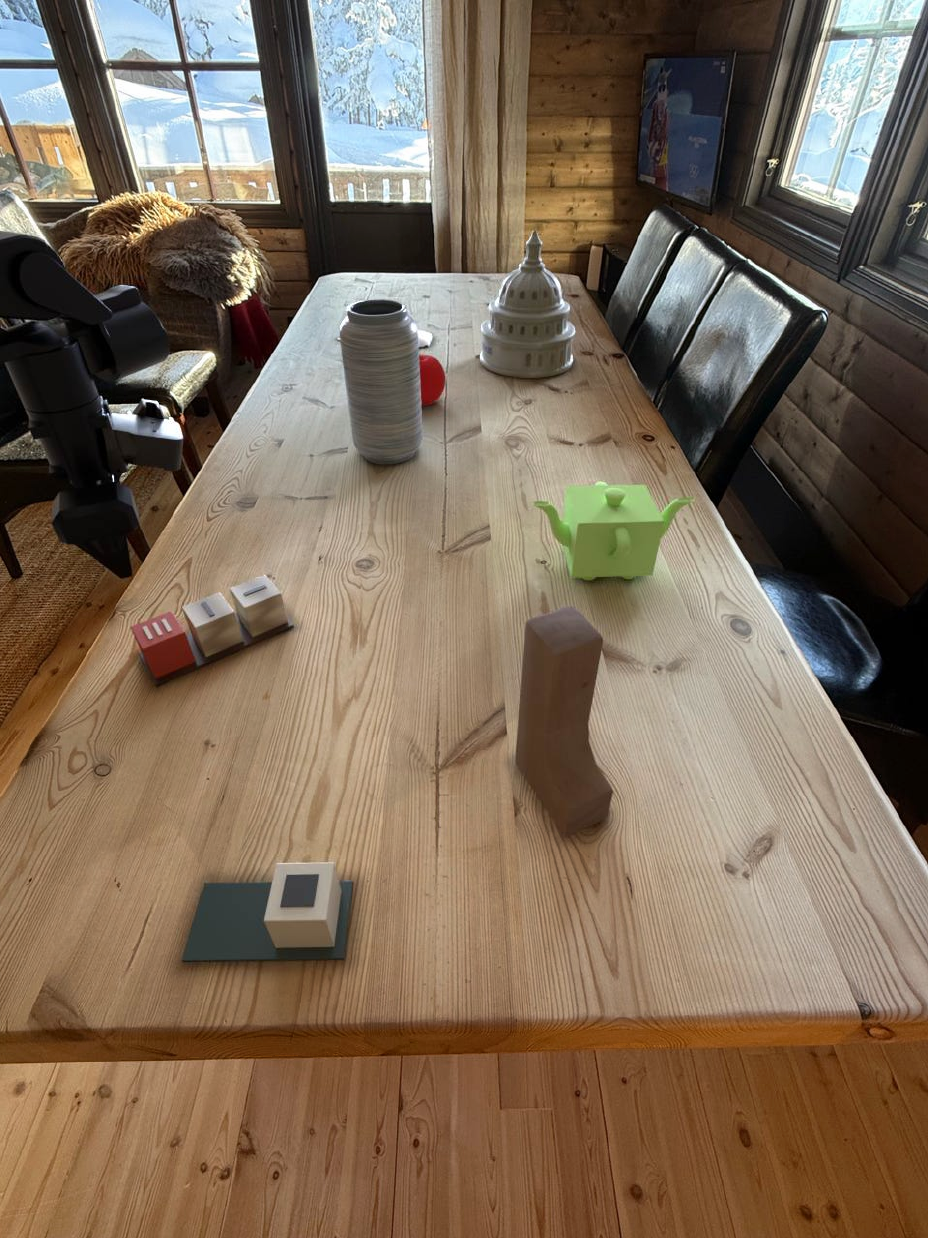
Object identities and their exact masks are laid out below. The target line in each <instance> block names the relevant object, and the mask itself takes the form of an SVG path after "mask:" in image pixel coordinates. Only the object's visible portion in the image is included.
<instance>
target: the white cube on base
mask: <svg viewBox="0 0 928 1238" xmlns="http://www.w3.org/2000/svg"><path fill="white" fill-rule="evenodd" d="M274 867H275V868H274V872H273V876H272V881H260V882H259V881H257V882H256V881H254V882H253V881H252V882H251V881H249V882H203V883H204V884H203V885H202V889H201V892H200V897H199V900H198V904H197V906H196V910H195V913H194V916H193V920H192V923H191V927H190V929H189V933H188V935H187V936H188V937H187V940H186V943H185V946H184V948H183V949H184V950H183V953H182V957H181V960H180V961H181V963H182V964H186V963H191V964H194V963H248V962H250V963H254V962H255V963H256V962H312V961H313V962H317V961H318V962H319V961H322V962H323V961H324V962H325V961H345V957H346V950H347V940H348V932H349V924H350V916H351V907H352V899H353V891H354V881H353V880H339V876H338V872H337V868H336V865H335V862H277V863H275V866H274Z"/></svg>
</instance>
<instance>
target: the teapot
mask: <svg viewBox="0 0 928 1238" xmlns="http://www.w3.org/2000/svg"><path fill="white" fill-rule="evenodd" d="M695 500H696V499H695V498H694V497H679V498H676V499H674V500H672V501H671V502H670V503H668V505H667V506H666V507H665V508H664V509H663V511H662V512H660V511H659V509H658V507H657V504H656V502H655V501H654V497H652V495H651V493H650V491H649V489H648V487H647V485H646V484H611V485H609V484H607V483H606V482H604V481H597V482H596V483H595V484H594V485H575V486H565V492H564V500H563V511H562V519H561V518H560V516H559V515H560V514H559V512H558V510H557V508H556V506H555V505H554V504H552V503H551V502H548V501H543V500H542V501H539V500H537V501H533V502H532V504H531V505H532V506H534V507H537V508H539V509H540V510H541V511H543V512H544V513H545V514H546V516H547V519H548V522H549V527H550V530H551V533H552V535H553V537H554V539H555V540H556V541H557V542H558V543H559V544H560V545H561V546H562V549H563V554H564V556H565V560H566V565H567V568H568V571H569V575H570V578H572V579H575V578H576V579H577V578H580V579H582V580H584V581H593V580H595V579H597V578H606V577H608V578H609V577H620V578H622V579H624V580H633V579H635V578H636V577H640V576H643V577H644V576H653V575H654V570H655V566H656V562H657V557H658V554H659V553H658V552H659V549H660V543H661V539H662V538H663V537H664V536H665V535H666V534H667V532H668V530H669V529H670V526H671V524H672V522H673V520H674V518H675V516H676V515H677V513H678V512H679V511H680V510H681V509H683V507H685V506H686V505H687V506H688V505H689V504H691V503H694V502H695Z"/></svg>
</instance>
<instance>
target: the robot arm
mask: <svg viewBox="0 0 928 1238" xmlns="http://www.w3.org/2000/svg"><path fill="white" fill-rule="evenodd" d="M0 319H7V320H24V321H26V322H23V323H19V324H16V325H13V326H9V327H6V328H4V327H2V326H1V325H0V365H1V364H4V365H5V367H6V370H7V372H8V373H9V376H10V378H11V380H12V383H13V385H14V387H15V389H16V391H17V393H18V396H19V398H20V400H21V403H22V405H23V408H24V409H25V412H26V414H27V417H28V420H29V421H28V430H29V433H30V435H31V437H32V440H38V441H39V443H40V446H41V447H42V450H43V452H44V454H45V456H46V458H47V461H48V475H49V477H50V480H51V481H52V484H61V483H65V482H70V484H71V485H73V486H74V487H75V488H74V489H69V490H64V491H59V492H58V494H57V495H56V496H55V498H54V500H53V501H52V502H51V518H50V519H51V520H50V521H51V522H50V524H51V526H52V528H53V530H54V532H55V534H56V537H57V538H58V541H59V542H60V544H61V543H62V544H64V545H65V544H66V545H74V546H75V547H77V548H79V550H81V551H83V552H84V553H86V554H87V555H89V556H90V557H92V559H94V560H96V561H97V562H98V563H99V564H101V565H102V566H103V567H104V568H106V569H107V570H109V571H110V572H111V573H112V574H113V575H115V576H116V577H117V578H119V579H121V580H124V579H129V578H132V577H133V575H134V574H133V568H132V561H131V554H130V547H129V541H128V535H129V534H131V533H133V532H134V531H136V530H137V529H138V527H140V526H141V524H140V523H141V522H140V517H139V511H138V508H137V504H136V500H135V498H134V495H133V492H132V490H131V488H130V487H128V486H126V485H124V484H122V483H121V482H120V481H121V480H120V479H121V477H122V476H123V474H125V473H128V472H129V471H128V466H129V465H133V466H139V467H140V466H141V467H148V468H158V469H163V470H164V471H166V472H178V471H179V470H180V469H181V465H182V457H183V456H182V455H183V445H184V444H183V443H184V435H183V432H182V429H181V425H180V424H179V423H178V422H177V421H175V420H174V418H173V417H168V418H167V419H166V418H165V415H164V413H163V410H162V408H161V406H160V404H159V402H158V401H157V400H150V399H144V398H142V399H140V401H139V402H138V403H137V405H136V407H135V408H134V410H133V411H130V410H129V411H128V410H127V411H126V414H123V413H113V412H112V410H111V407H110V405H109V402H108V400H107V399H103V396H102V395H100V394H99V392H98V389H97V386H96V383H95V381H94V378H93V376H92V375H94V376H96V377H98V378H99V379H101V380H103V381H105V382H109V383H110V382H111V383H112V382H116V381H119V380H121V379H123V378H126V377H128V376H130V375H131V376H132V375H133V374H135V373H138V372H141V371H143V370H146V369H148V368H151V367H153V366H155V365H158V364H160V363H163V362H165V361H166V360H167V359H168V357H169V355H170V351H171V344H170V339H169V334H168V331H167V329H166V327H165V326H163V324H162V322H161V320H160V319H159V317H158V316H157V314H156V313H155V312H154V311H153V310H152V309H151V308H150V306H148V305H147V304H146V303H145V302H143V301H142V298H141V295H140V291H139V289H138V288H137V287H136V286H129V285H124V284H120V285H116V286H112V287H110V288H108V289H107V290H105V291H103V292H100V293H98V294H93V293H92V292H91V291H90V290H89V289H88V288H86V287H85V286H84V285H83V284H82V283H81V282H80V281H79V280H78V279H76V278H75V277H74V275H72V274H71V273H70V272H68V271H67V268H66V265H65V263H64V261H63V259H62V258H61V256H60V255H59V254H58V252H57V251H56V250H55V249H54V248H53V247H52V246H51V245H50V244H49V243H48V242H47V241H46V240H45V239H44V238H41V237H39V236H36V235H30V234H25V233H18V232H12V231H5V230H0ZM55 319H60V320H62V321H63V322H61V323H58V324H55V325H51V326H48V325H46V324H45V323H43V322H46V321H51V320H55Z"/></svg>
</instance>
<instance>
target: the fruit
mask: <svg viewBox="0 0 928 1238" xmlns="http://www.w3.org/2000/svg"><path fill="white" fill-rule="evenodd" d="M419 365H420V385H421V406H422V407H423V406H430V405H432V404H435V402H437V401H438V400H439V399H440V397H441V396H442V394H443V391H444V390H445V388H446V387H445V386H446V374H445V370H444V367H443V365H442V364H441V362H440V360H439V359H437V358H436V357H434V356H433V355H430V354H419Z"/></svg>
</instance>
